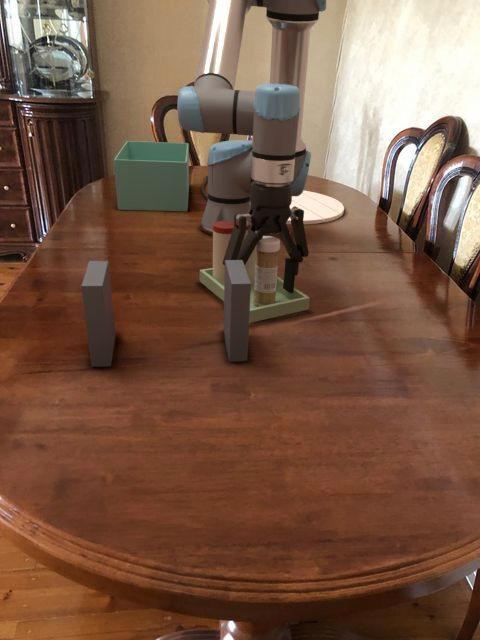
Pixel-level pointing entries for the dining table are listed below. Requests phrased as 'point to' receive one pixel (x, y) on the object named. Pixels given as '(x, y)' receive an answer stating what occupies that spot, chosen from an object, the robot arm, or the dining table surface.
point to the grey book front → (99, 313)
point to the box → (152, 176)
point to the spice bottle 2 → (251, 261)
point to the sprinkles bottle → (266, 270)
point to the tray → (283, 305)
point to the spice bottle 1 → (220, 247)
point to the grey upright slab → (236, 310)
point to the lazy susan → (317, 207)
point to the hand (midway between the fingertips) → (264, 295)
